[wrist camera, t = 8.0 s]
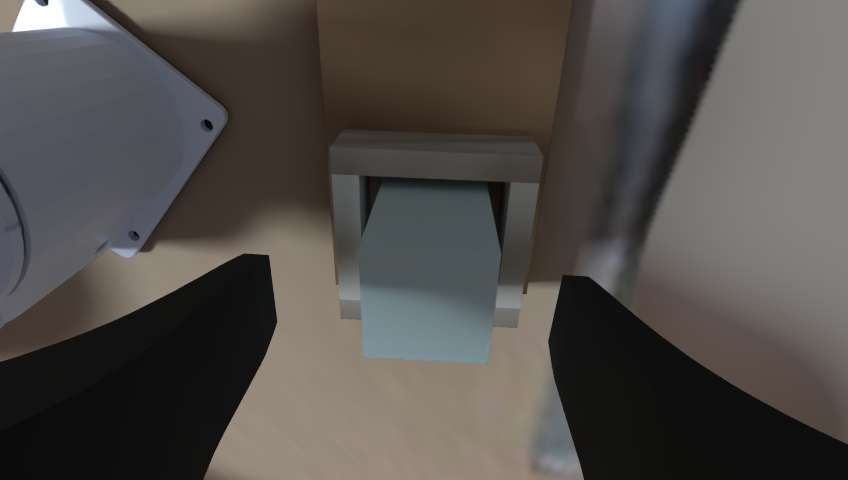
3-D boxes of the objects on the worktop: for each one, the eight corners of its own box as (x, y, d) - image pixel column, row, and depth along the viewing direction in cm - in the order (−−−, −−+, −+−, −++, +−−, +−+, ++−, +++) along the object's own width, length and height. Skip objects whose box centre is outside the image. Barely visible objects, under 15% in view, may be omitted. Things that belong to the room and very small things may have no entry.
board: (318, -64, 16) (288, -77, 13) (575, -56, 16) (605, -68, 13) (340, 274, 23) (323, 317, 20) (523, 283, 23) (534, 328, 20)
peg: (476, 255, 21) (488, 363, 15) (388, 251, 21) (363, 357, 15) (484, 170, 19) (501, 254, 13) (387, 166, 19) (358, 248, 13)
